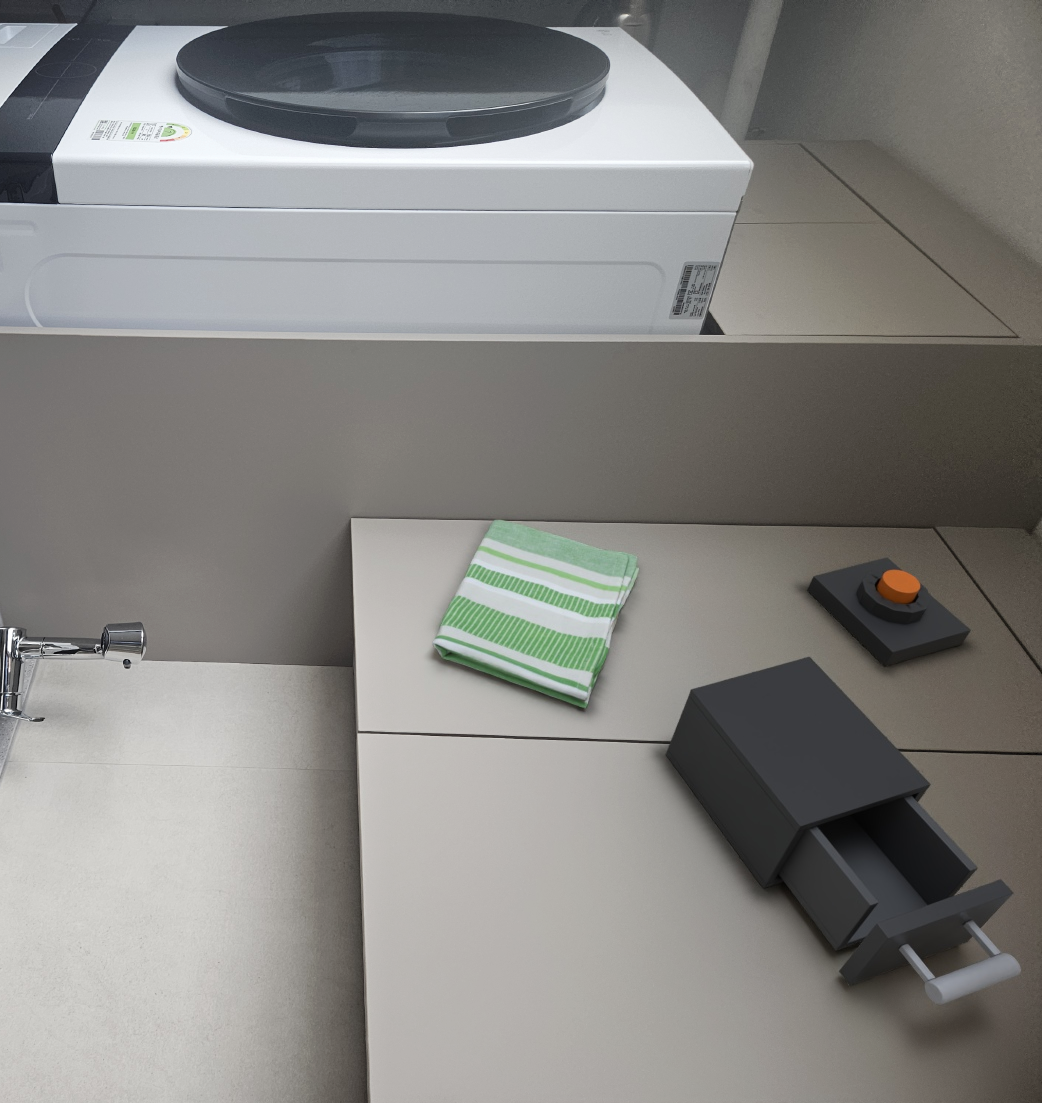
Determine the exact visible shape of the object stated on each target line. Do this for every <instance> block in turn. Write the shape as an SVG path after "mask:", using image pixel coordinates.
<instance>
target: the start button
mask: <svg viewBox="0 0 1042 1103" xmlns="http://www.w3.org/2000/svg"><path fill="white" fill-rule="evenodd" d="M919 582H920V581H919V579H918V578H917V577H916V576H914V575H913V574H911V573H909V572H906V571H904V570H902V571H900V570H889V571H886V572H885V573H884V574H883V576H882V578H881V580H880V582H879V583H878V585H877V591H878V593H879V594H880V595H881V596H883V597H884V598H885V599H888V600H890V601H892V602H894V603H900V604H908V603H911V602H912V601H913V600H914V598H915V596H916V595H917V593H918V591H919V589H920V583H921V582H920V583H919Z"/></svg>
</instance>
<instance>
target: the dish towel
mask: <svg viewBox="0 0 1042 1103" xmlns="http://www.w3.org/2000/svg"><path fill="white" fill-rule="evenodd" d="M638 561H639V558H638V557H637V556H636V555H634V554H632V553H628V552H623V551H616V550H608V549H601V548H599V547H595V546H592V545H589V544H586V543H583V542H579V541H577V540H574V539H570V538H567V537H564V536H561V535H557V534H554V533H550V532H547V531H543V530H540V529H537V528H534V527H531V526H528V525H525V524H522V523H517V522H513V521H508V520H503V519H494V520H493V521H492V522H491V523H490V525H489V528H488V530H487V531H486V533H485V535H484V536H483V538H482V540H481V542H480V544H479V546H478V547H477V550H476V551H475V554H474V556H473V558H472V559H471V562H470V564H469V565H468V567H467V569H466V572H465V574H464V577H463V579H462V581H461V582H460V585H459V586H458V588H457V590H456V592H455V594H454V596H453V597H452V598H451V601H450V602H449V604H448V606H447V609H446V611H445V613H444V615H443V616H442V619H441V621H440V624H439V630H438V632H437V634H436V636H435V638H434V640H433V641H432V646H433V648H435V649H436V651H437V653H439V656H440V657H441V658H442V659H443V660H446V661H447V660H448V661H450V662H452V663H453V662H454V663H457V664H459V665H463V666H466V667H468V668H472V669H474V670H477V671H480V672H483V673H486V674H488V675H492V676H493V677H497V678H498V679H502V680H504V681H507V682H510V683H513V684H516V685H519V686H521V687H525V688H527V689H531V690H533V691H537V692H539V693H542V694H544V695H546V696H548V697H552V698H555V699H558V700H560V701H564V702H567V703H569V704H572V705H574V706H576V707H580V708H583V709H586V708H587V706H588V704H589V700H590V696H591V694H592V692H593V688H594V686H595V684H596V681H597V678H598V676H599V673H600V671H601V669H602V667H603V665H604V663H605V661H606V659H607V656H608V653H609V651H610V646H611V640H612V635H613V632H614V630H615V627H616V624H617V621H618V618H619V613H620V611H621V609H622V607H624V605H625V603H626V601H627V599H628V598H629V596H630V593H631V591H632V589H633V587H634V584H635V582H636V579H637V578H638V575H639V572H640V568H639V567H638V566H637V565H638Z"/></svg>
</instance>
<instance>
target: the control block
mask: <svg viewBox="0 0 1042 1103" xmlns="http://www.w3.org/2000/svg"><path fill="white" fill-rule="evenodd" d="M889 570H900V571H903V569H901V567H899V566H898V565H897V564H895V562H894V561H892V560H891V559H890V558H889V557H888V556H887V557H883V558H882V557H881V558H878V559H875V560H871V561H867V562H863V563H860V564H856V565H851V566H848V567H844V568H840V569H836V570H832V571H828V572H824V573H821V574H820V573H819V574H817V575H814V576H813V577H812V579H811V581H810V582H809V585H808V587H807V589H806V590H807V592H808V593H809V594H810V595H812V597H813V598H814V599H816V600H817V601H818V603H819V604H820V605H822V606H823V607H824V608H825V609H826V610H827V612H829V613H830V614H831V616H833V617H834V618H835V620H837V621H838V622H839V623H840V624H841V625H842V626H843V627H844V628H845V629H846V630H847V631H848V632H849V633H850V634H851V635H852V636H853V637H854V638H855V639H856V640H857V641H858V642H859V643H860V644H861V645H862V646H863V647H864V648H865V649H867V651H868V652H869V653H871V655H872V656H873V657H875V659H877V660H878V661H879V663H881V665H883V666H884V667H887V666H890V665H894V664H898V663H901V662H904V661H908V660H911V659H914V658H915V659H916V658H918V657H922V656H926V655H928V654H932V653H936V652H939V651H943V650H946V649H950V648H953V647H957V646H960V645H963V644H964V642H965V641H966V639H967V637H968V636H969V634H970V632H971V631H972V630H971V628H969V627H968V626H967V625H966V624H965V623H964V622H963V621H962V620H960V619H959V618H958V617H957V616H956V615H954V614H953V612H951V611H950V610H949V609H948V608H947V607H945V606H944V605H943V604H941V602H939V601H938V600H937V599H936V598H935V597H934V596H933V595H932V594H930V592H929V589H928V588H927V587H926V586H924V585H923V584H922V583H921V582H920V581H919V583H920V589H919V591H918V593H917V595H916V596H915V598H914V600H913V601H912V602H911V603H908V604H900V603H894V602H892V601H890V600H888V599H885V598H884V597H883V596H881V595H880V594H879V593H878V591H877V585H878V583H879V582H880V580H881V578H882V576H883V574H884V573H885V572H886V571H889Z"/></svg>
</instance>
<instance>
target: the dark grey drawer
mask: <svg viewBox="0 0 1042 1103" xmlns="http://www.w3.org/2000/svg"><path fill="white" fill-rule="evenodd" d="M978 869H979V867H978V866H977V865H976V864H975V862H974V861H972V859H971V858H970V857H969V856H968V855H967V854H966V853H965V851H964V850H962V848H960V846H959V845H958V844H957V843H956V842H955V841H954V840H953V838H951V837H950V835H949V834H947V832H946V831H945V830H944V829H943V827H941V825H940V824H938V822H936V820H935V819H934V818H933V817H932V816H931V815H930V814H929V813H928V812H927V810H926V809H925V808H924V807H923V806H922V805H921V804H920V803H919V801H918V802H917V801H916V800H915V799H914V798H913V797H912V796H911V795H909V796H906V797H903V798H900V799H897V800H894V801H891V802H888V803H885V804H882V805H878V806H875V807H872V808H869V809H866V810H863V811H860V812H857V813H854V814H851V815H848V816H844V817H841V818H838V819H835V820H832V821H829V822H826V823H823V824H820V825H817V826H813V827H810V828H807V829H805V830H804V832H803V834H802V835H801V837H800V839H799V840H798V842H797V844H796V845H795V847H794V848H793V850H792V852H791V853H790V855H789V857H788V858H787V860H786V862H785V863H784V865H783V867H782V868H781V870H780V872H779V873H778V874H779V875H780V877H781V878H782V879H783V881H784V882H783V883H785V885H786V886H787V888H788V889H789V891H791V893H792V895H794V897H795V899H797V901H798V903H800V905H801V907H803V910H805V911H806V913H807V914H808V916H809V917H810V918H811V920H812V921H813V922H814V924H815V925H816V926H817V928H818V929H819V930H820V932H821V933H822V935H823V936H824V937H825V939H826V940H827V941H828V942H829V944H830V945H831V946H832V948H833V950H834V951H840V950H842V949H845V948H848V947H851V946H853V945H857V944H859V943H860V944H859V945H858V947H857V948H856V949H855V950H854V951H853V953H852V954H851V955H850V956H849V957H848V959H847V960H846V962H844V964H843V965H842V967H841V968H839V970H838V972H839V974H840V975H841V977H842V978H843V979H844V981H845V983H847V985H848V986H850V987H851V986H853V985H855V984H858V983H861V982H864V981H866V980H869V979H871V978H874V977H877V976H880V975H882V974H885V973H888V972H890V971H893V970H897V969H898V968H901V967H904V966H907V965H910V966H911V967H912V968H913V970H914V971H915V972H916V973H917V974H918V976H919V977H920V978H921V979H922V980H923V982H924V991H925V994H926V995H927V997H928V998H929V1000H930V1001H931V1002H933V1003H934V1004H936V1005H938V1006H939V1005H940V1006H942V1005H945V1004H947V1003H950V1002H952V1001H954V1000H955V1001H956V1000H958V999H960V998H962V997H965V996H968V995H971V994H973V993H976V992H978V991H981V990H983V989H986V988H988V987H990V986H994V985H996V984H999V983H1002V982H1004V981H1007V980H1009V979H1012V978H1014V977H1017V976H1019V975H1020V974H1021V972H1022V971H1021V966H1020V963H1019V962H1018V959H1016V958H1015V957H1014V956H1012V955H1011V954H1010V953H1006V952H1001V951H1000V950H999V948H998V947H997V946H996V945H995V944H994V943H993V941H991V939H990V938H989V937H988V936H987V935H986V934H985V933H984V931H983V930H982V927H983V926H985V924H986V923H988V921H989V920H990V919H991V918H992V917H993V916H994V915H995V914H996V913H997V911H999V909H1000V908H1001V907H1002V906H1004V904H1005V903H1006V902H1007V901H1008V900H1009V899H1010V898H1011V897H1012V896H1013V895H1014V891H1013V890H1012V889H1011V888H1010V887H1009V886H1008V885H1007V884H1006V883H1005V881H1004V880H1003V879H1001V878H1000V879H998V880H994V881H992V882H989V883H986V884H983V885H981V886H978V887H975V888H972V889H969V890H966V891H964V892H961V893H958V892H959V891H960V890H961V888H962V887H963V886H964V885H965V884H966V883H967V882H968V880H970V878H971V877H972V876H973V875H974V874H975V873H976V871H977V870H978ZM957 893H958V894H957ZM972 938H973V939H974V940H975V941H976V943H977V944H978V945H979V946H980V947H981V948H982V949H983V950H984V951H985V953H986V954H987V955H988V956H989V958H986V959H984V960H980V961H977V962H975V963H973V964H969V965H968V966H965V967H962V968H959V969H957V970H954V971H952V972H948V973H947V974H943V975H941V976H938V977H935V975H934V974H933V973H932V971H931V970H930V969H929V968H928V967H927V965H926V964H925V963H924V962H923V959H926V958H928V957H931V956H934V955H936V954H940V953H942V952H945V951H947V950H949V949H952V948H955V947H959V946H961V945H964V944H966V943H968V942H969V941H970V940H971V939H972Z"/></svg>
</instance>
